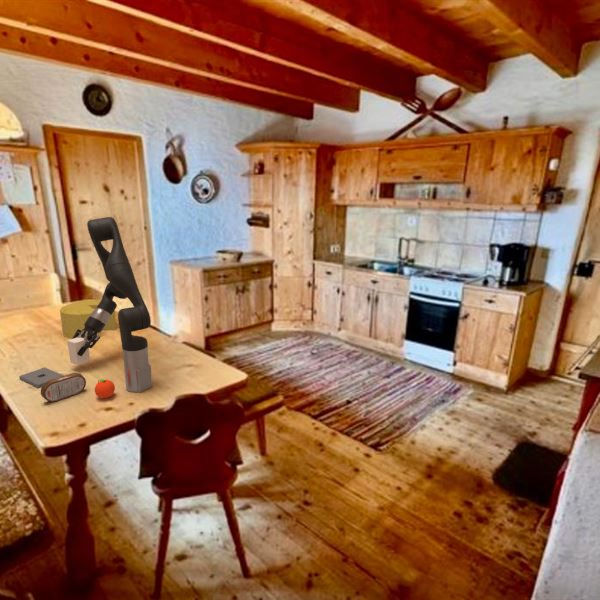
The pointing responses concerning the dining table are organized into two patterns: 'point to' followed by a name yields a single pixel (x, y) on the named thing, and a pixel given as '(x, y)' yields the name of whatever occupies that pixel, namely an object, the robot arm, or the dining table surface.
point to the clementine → (104, 388)
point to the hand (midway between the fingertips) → (75, 353)
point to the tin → (63, 387)
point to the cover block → (74, 347)
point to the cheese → (81, 317)
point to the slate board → (39, 377)
